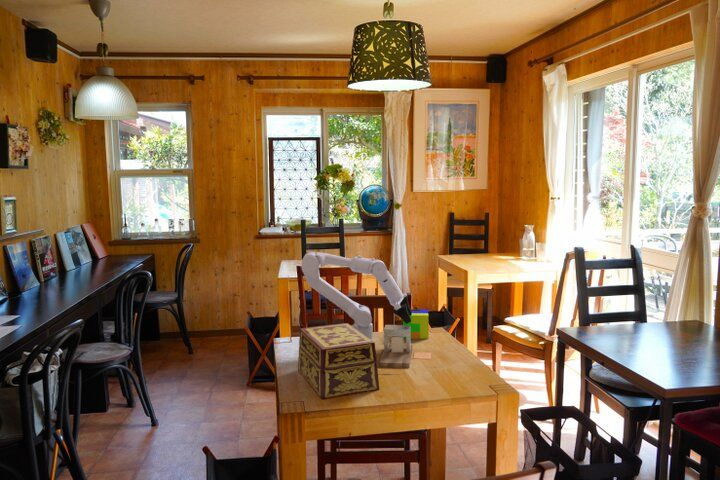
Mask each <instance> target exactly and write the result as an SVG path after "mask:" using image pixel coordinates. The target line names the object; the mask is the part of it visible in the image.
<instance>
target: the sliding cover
mask: <svg viewBox="0 0 720 480" xmlns="http://www.w3.org/2000/svg"><path fill="white" fill-rule="evenodd" d="M392 336H400V337H406V339H405V342H406V344H405V345H406V352H407V353H410V349H411V343H412V340H411V325H403V324H385V325H384V328H383V351H384V352H388V349H389V345H390V337H392Z"/></svg>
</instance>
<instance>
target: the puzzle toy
mask: <svg viewBox="0 0 720 480" xmlns="http://www.w3.org/2000/svg"><path fill="white" fill-rule="evenodd" d="M410 310H411V313H412V315H410V318H411V322H410V323H408V324H406V323H405V322H404V321H403V320H402V325H411V339H412V340H413V339H415V340H419V339H420V340H422V339H423V340H424V339H425V340H429V335H430V333H429V310H428V309H424V308H423V309H416V308H415V309H413V308H410ZM404 339H405V340H406V337H403V340H404Z"/></svg>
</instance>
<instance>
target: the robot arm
mask: <svg viewBox="0 0 720 480" xmlns="http://www.w3.org/2000/svg"><path fill="white" fill-rule="evenodd" d="M328 265H332V266H339V267H345V268H350V270H351V271H352V272H354V273H360V274H364V275H365V274H366V275H372V276H373V277H374V278H375V279H376V280H377V283H378V285H379V287H380V288H381V291H382V292H383V293H384V295H385V297H386V299H387V300H388V301H389V304H390V305H391V306H392V307H394V309H392V313H393V314H395V315H396V316H398V317H399V318H400V319H401V320H402V322H403V321H404V322H405V323H406V324H408V323H410V322H411V318H410V315H412V313H411V310H410V309H411V307H410V305H409V301H408V294H407V293H406V292H405V293H403V292H402V290H401V289H400V287H399V286H398V284H397V282H396V280H395V279H394V277H393V275H392V274H390V273H391V272H390V271H389V270H388V268H387V265H386V264H385V263H384V261H382V260H380V259H375V258H373V257H371V258H366V257H363V256H362V255H360V254H358V256H353V257H352V258H349V257H344V256H340V255H335V254H331V253H327V252H321V251H320V252H318V251H317V252H316V251H308V252H306V253H305V254H304V256H303V258H302V260H301V271H302V273H303V276H304V277H305V281H306V283H307V285H308V286H309V287H310V288H312V289H313V290H315V291H316V292H317V293H318V294H320V295H321V296H323V297H324V298H325V299H327V300H328V301H329V302H331V303H333V304H334V305H335V306H337V307H338V308H340V309H341V310H343V311H344V312H345V313H346V314H347V315H348V316H349V317H350V319H352V320H353V321H354V323H353V324H351V326H352V327H353V328H355V329H356V330H358V331H359V332H361V333H362V334H363V335H365V336H366V337H368V338H369V339H370V340H372V341H373V342H374V339H373V338H374V334H373V333H374V331H373V330H374V329H373V328H374V327H373V323H372V322H373V318H372V313H371V310H370V308H369V307H368V306H366V305H362V304H360V303H358V302H356V301H354V300H352V299H351V298H349V297H348V296H347V295H345V294H344V293H343V292H341V291H340V290H338V289H337V288H336V287H334V286H333V285H331V284H330V283H328V282H327V281H326V280H325V279H323V278H322V277H321V276H320V275H321V274H320V268H322V267H325V266H328Z"/></svg>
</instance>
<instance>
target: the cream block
mask: <svg viewBox="0 0 720 480" xmlns="http://www.w3.org/2000/svg"><path fill="white" fill-rule="evenodd" d="M390 337H391V340H390V341H391V345H392V352H404V349H403V345H404V339H403V337H400V336H390Z"/></svg>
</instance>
